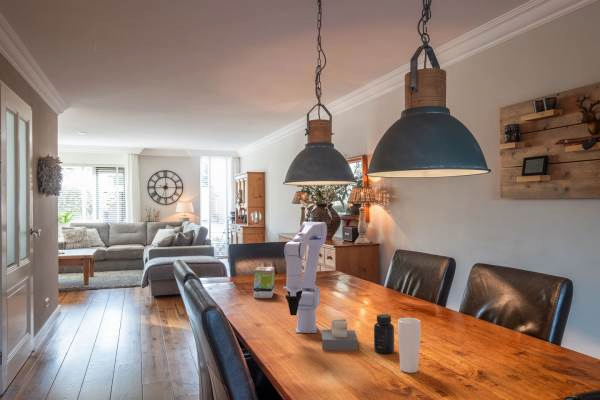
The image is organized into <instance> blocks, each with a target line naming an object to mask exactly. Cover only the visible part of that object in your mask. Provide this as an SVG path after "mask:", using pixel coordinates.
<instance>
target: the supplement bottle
mask: <svg viewBox="0 0 600 400" xmlns="http://www.w3.org/2000/svg"><path fill="white" fill-rule="evenodd" d="M373 350H374V352H375V353H376V354H380V355H391V354H394V352H395V325H394V324H393V323H392V316H391V315H390V314H385V313H380V314H377V315H376V322H375V324H374V325H373Z"/></svg>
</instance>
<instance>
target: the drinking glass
mask: <svg viewBox="0 0 600 400" xmlns="http://www.w3.org/2000/svg"><path fill="white" fill-rule="evenodd" d="M421 325H422V324H421V320H420V319H418V318H415V317H400V318H398V319H397V341H398V355H399V356H398V357H399V369H400V371H402V372H404V373H406V374H413V373H414V374H415V373H417V372H418V371H419V357H420V348H421V335H422V334H421V333H422V329H421V327H422V326H421Z"/></svg>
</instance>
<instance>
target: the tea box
mask: <svg viewBox="0 0 600 400" xmlns="http://www.w3.org/2000/svg"><path fill="white" fill-rule="evenodd" d="M275 268H276V267H275V266H256V268H255V269H254V273H253V274H254V275H253V276H254V277H253V281H254V282H253V298H255V299H256V298H257V299H259V298H260V299H272V297H273V296H274V293H275Z"/></svg>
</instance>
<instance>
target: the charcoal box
mask: <svg viewBox="0 0 600 400" xmlns="http://www.w3.org/2000/svg"><path fill="white" fill-rule="evenodd" d="M321 340H322V341H321V350H322V351H351V352H353V351H354V352H356V351H358V349H359V348H358V347H359V346H358V342H359V340H358V337H357V333H356V330H355V329H350V330H349V329H347V337H333V336H332V333H331V329H321Z"/></svg>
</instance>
